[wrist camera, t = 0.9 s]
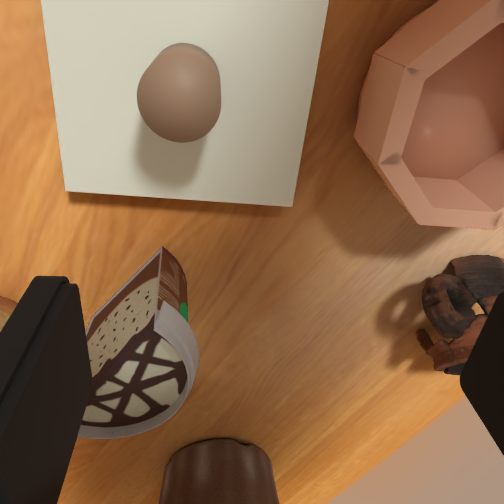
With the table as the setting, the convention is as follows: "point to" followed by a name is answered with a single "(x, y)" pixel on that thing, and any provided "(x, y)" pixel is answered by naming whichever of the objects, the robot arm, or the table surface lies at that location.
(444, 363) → the pottery mug
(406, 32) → the bowl
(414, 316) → the table surface
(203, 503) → the plant pot
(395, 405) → the table surface
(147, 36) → the lid
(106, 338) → the food container
